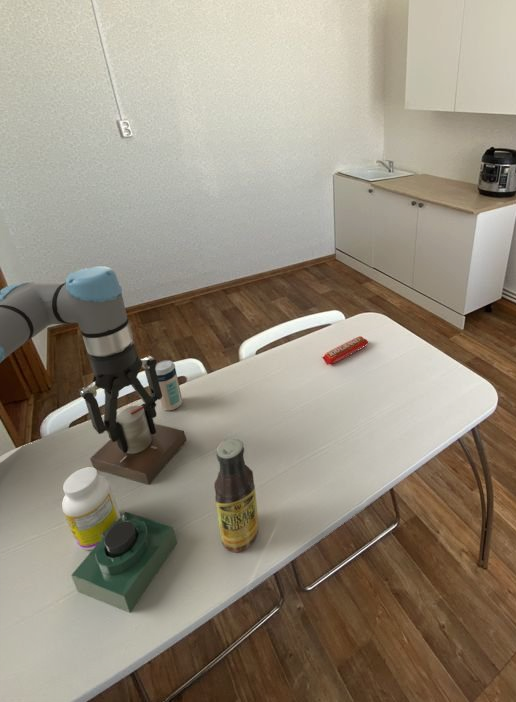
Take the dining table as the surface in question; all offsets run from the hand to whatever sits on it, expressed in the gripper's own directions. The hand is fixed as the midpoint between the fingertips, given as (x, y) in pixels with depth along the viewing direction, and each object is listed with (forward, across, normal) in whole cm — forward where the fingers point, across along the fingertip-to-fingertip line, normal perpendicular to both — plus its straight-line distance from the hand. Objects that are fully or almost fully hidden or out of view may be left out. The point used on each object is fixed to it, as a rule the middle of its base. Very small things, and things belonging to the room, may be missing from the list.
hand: (137, 439), depth 81 cm
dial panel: (+4, 0, 0) cm, 4 cm away
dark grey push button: (-1, +11, +21) cm, 23 cm away
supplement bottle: (+4, +12, +10) cm, 17 cm away
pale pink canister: (+4, -12, -9) cm, 15 cm away
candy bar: (+4, -54, +14) cm, 55 cm away
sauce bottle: (+4, -2, +31) cm, 32 cm away
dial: (+1, 0, 0) cm, 1 cm away
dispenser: (+4, +11, +20) cm, 24 cm away
